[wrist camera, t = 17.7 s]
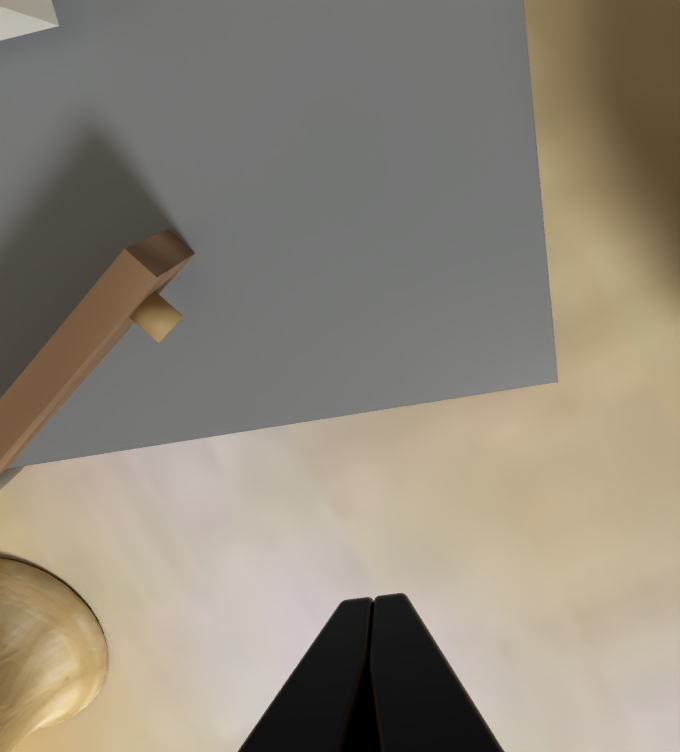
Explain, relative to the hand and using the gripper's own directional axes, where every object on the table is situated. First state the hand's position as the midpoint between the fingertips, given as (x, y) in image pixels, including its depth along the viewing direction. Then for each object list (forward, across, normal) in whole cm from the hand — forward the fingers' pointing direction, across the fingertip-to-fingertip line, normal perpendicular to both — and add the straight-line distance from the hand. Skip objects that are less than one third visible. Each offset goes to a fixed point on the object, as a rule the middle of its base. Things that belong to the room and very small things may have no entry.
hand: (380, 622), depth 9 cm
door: (+12, +9, -1) cm, 15 cm away
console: (+13, +5, -7) cm, 16 cm away
